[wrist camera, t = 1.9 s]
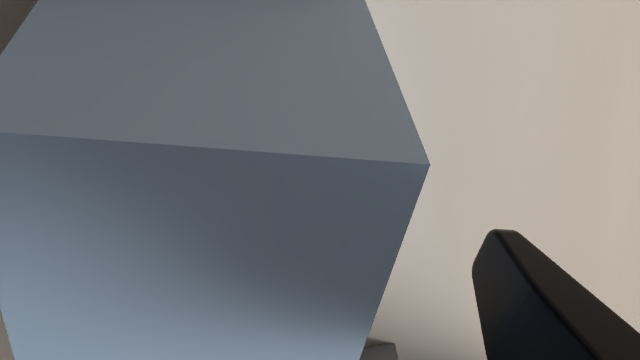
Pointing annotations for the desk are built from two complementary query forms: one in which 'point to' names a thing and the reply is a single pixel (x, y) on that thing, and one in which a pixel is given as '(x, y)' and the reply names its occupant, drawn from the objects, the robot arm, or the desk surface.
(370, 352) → the charcoal cube
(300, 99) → the blue cube
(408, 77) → the desk surface
